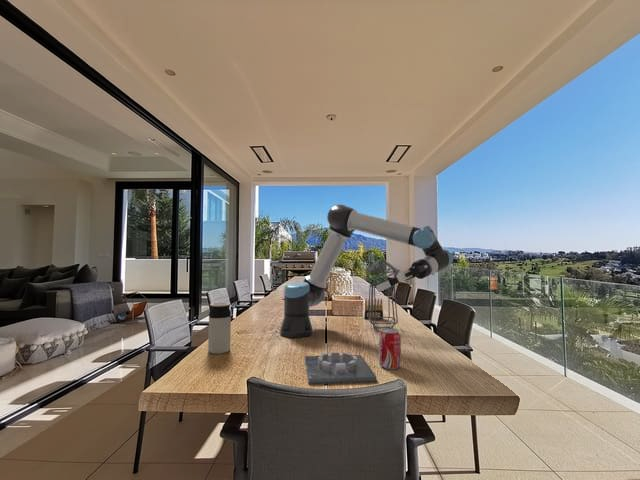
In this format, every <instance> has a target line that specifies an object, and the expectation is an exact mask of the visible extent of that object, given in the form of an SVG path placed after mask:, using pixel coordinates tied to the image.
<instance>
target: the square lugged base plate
mask: <svg viewBox="0 0 640 480" xmlns="http://www.w3.org/2000/svg"><path fill="white" fill-rule="evenodd" d="M304 364H305V371H306V377H307V384H308V385H322V384H323V385H325V384H326V385H327V384H330V385H331V384H351V383H353V384H355V383H356V384H357V383H377V376H376V374H375V373H374V371H373V369H371V367H370V365H369V364H368V363H367V362H366V360H365V359H364V357H363V356H362V355H361V354H353V353H350V352H346V351H345V352H343V353H342V354H340V352H339V351H330V355H329V353H328V352H324V353H321V354H319V355H304Z"/></svg>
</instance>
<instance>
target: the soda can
mask: <svg viewBox="0 0 640 480" xmlns="http://www.w3.org/2000/svg"><path fill="white" fill-rule="evenodd" d="M390 328H391V327H390ZM390 328H381V330H380V333H379V338H378V340H379V341H378V342H379V343H378V345H379V346H378V354H379V356H378V359H379V365H380V366H381V367H382V368H384V369H385V370H396V369H398V368H399V367H400V366H401V361H402V360H401V359H402V354H401V352H402V342H401V341H402V340H401V338H402V337H401V335H400V332H399V330H398V329H396V328H393V329H390Z"/></svg>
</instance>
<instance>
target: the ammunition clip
mask: <svg viewBox="0 0 640 480" xmlns="http://www.w3.org/2000/svg"><path fill="white" fill-rule="evenodd" d="M375 302H376V317H384V311H383V310H384V307H383V298H380V299H379V297H378V298H376V297H375ZM363 315H364V316H363V319H364V320H369V319H368V317H369V299H367V298H365V300H364V314H363ZM372 317H375V305H374V304H373V315H372ZM370 318H371V304H370ZM372 319H373V320H375V318H372ZM376 320H384V318H376Z"/></svg>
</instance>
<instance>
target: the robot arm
mask: <svg viewBox="0 0 640 480" xmlns="http://www.w3.org/2000/svg"><path fill="white" fill-rule="evenodd" d="M327 222H328V224H329V226H328V230H329V234H328V236H327V238H326V240H325V242H324V245H323V247H322V249H321V251H320V252H319V255H318V257H317V259H316V261H315V263H314V265H313V268H312V269H311V271H310V274H308V275H306V276H305V277H304V279H303V281H296V282H290V283H288V284H286V285H285V286H284V291H283V295H284V296H283V297H284V299H283V301H284V303H283V304H284V306H283V307H284V308H283V310H284V311H283V312H284V313H283V314H284V315H283V319H282V322H281V325H280V329H279V332H280V333H279V334H280V335H281V336H282V337H286V338H297V339H298V338H306V337H310V336H312V335H313V331H314V330H313V325H312V322H311V318H310V308H311V307H315V306H317V305H319V304H320V303H322V302H323V300H324V299H325V296H326V288H327V284H326V281H327V280H328V278H329V275H330V273H331V271H332V269H333V267H334V265H335V263H336V262H337V259H338V257H339V255H340V253H341V250H342V249H343V247H344V244H345V242H346V241H347V240H349V239H351V237H352V236H353V233H354V232H355V231H356V232H357V231H358V232H361V233H365V234H369V235H371V236H372V235H373V236H376V237H379V238H384V239H387V240H392V241H395V242H397V243H398V242H399V243H402V244H406V245H409V246H412V247H415V248H419V249H421V250H422V251H423V253H424V255H425V256H423V257H422V258H419V259H418V260H415V261H413V262H412V263H411V265H410V267H409V269H407V270H406V271H403V272H402V273H398V274H397V276H396V277H394V278H392V279H390V280H389V279H388V280H389V281H388V280H387V281H386V280H385V281H384V282H382V283H378V284H379V285H376V286H375V287H376V288H375V289H376V290H377V292H378V293H380V292H383V291H384V290H388V288H389V290H391V286H392V287H393V286H394V285H395V286H396V284H399V283H401V282H404V281H408V280H410V279H415V278H417V279H418V280H419V279H425V278H427V277H429V276H435V273H437V272H440V271H441V270H444V269H446V268H448V267H449V266H451V264H453V262H454V256H453V253H452V252H451V251H449V250H448V249H446V248H445V249H443V247H442V245H441V244H440V242H439V240H438V237H437V236H436V235H435V233H434V231H433V229H432V228H431V226H430V225H426V226H423V227H417V226H416V227H415V226H413V225H408V224H404V223H400V222H397V221H392V220H388V219H384V218H380V217H377V216H372V215H368V214H364V213H360V212H358V211H357V210H356V209H354V208H352V207H350V206H347V205H345V204H335V205H334V206H332V207H330V208H329V211H328V212H327Z"/></svg>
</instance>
